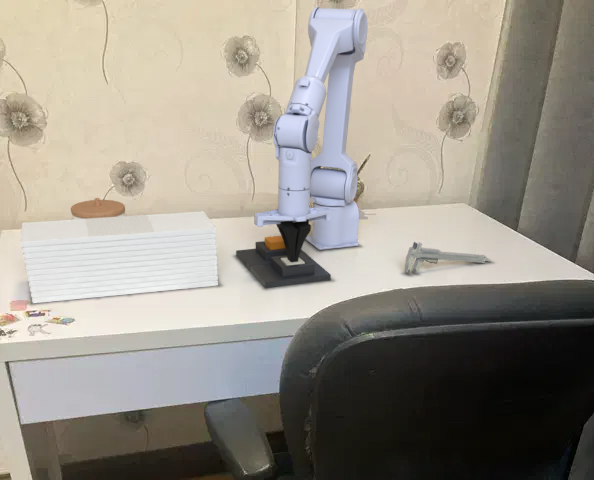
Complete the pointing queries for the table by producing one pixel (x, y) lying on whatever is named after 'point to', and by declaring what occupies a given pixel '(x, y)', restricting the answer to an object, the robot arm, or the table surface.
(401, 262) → the table surface
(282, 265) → the keypad
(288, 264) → the white key
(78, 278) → the stack of papers
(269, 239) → the amber key
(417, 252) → the caliper
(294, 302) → the table surface
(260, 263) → the keypad
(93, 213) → the trinket box
